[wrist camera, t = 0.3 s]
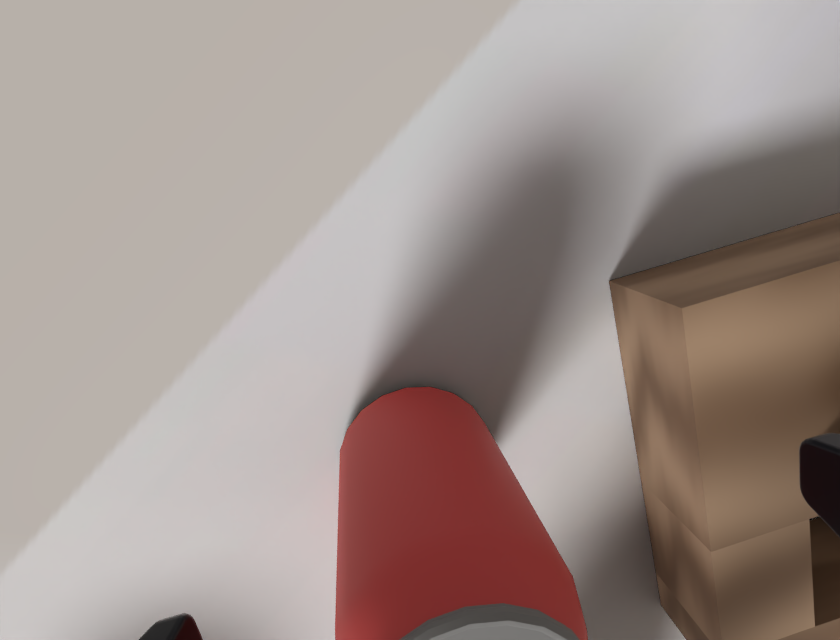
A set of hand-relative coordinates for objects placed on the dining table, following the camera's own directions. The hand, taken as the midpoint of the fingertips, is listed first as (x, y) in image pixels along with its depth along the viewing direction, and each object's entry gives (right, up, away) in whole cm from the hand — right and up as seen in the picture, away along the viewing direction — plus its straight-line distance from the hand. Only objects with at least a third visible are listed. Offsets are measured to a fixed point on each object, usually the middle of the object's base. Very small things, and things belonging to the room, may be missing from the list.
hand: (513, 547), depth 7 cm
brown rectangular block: (+16, -1, +18) cm, 24 cm away
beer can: (-2, -2, +16) cm, 16 cm away
